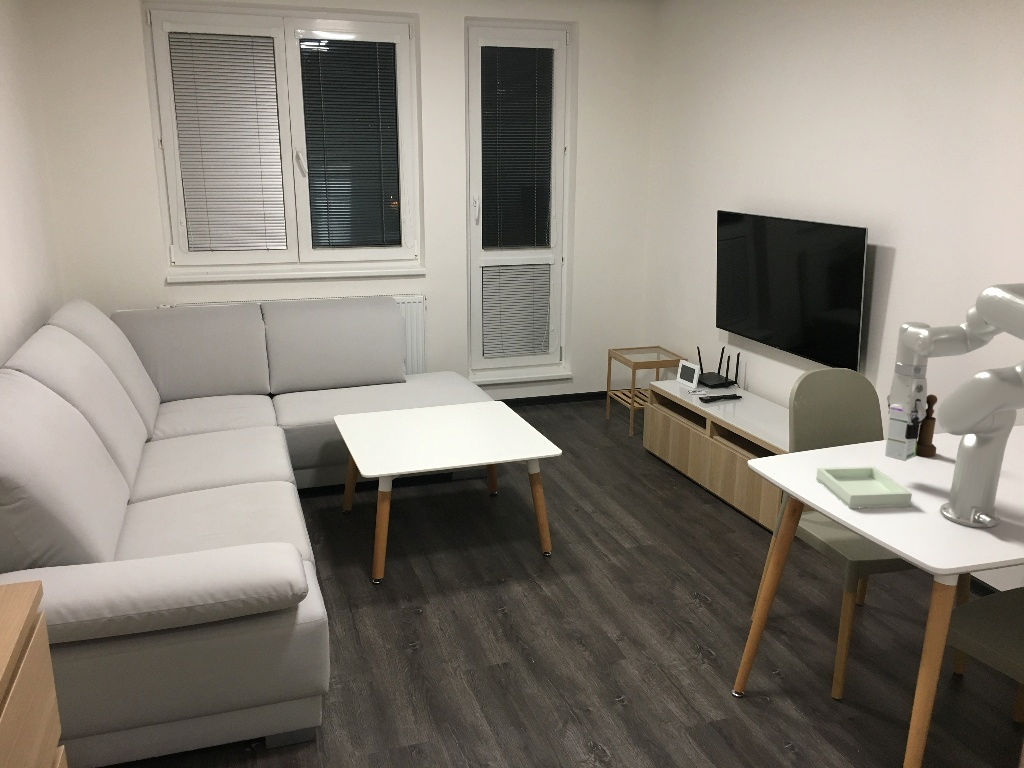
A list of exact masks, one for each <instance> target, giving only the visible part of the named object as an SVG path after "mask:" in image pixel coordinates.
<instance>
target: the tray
mask: <svg viewBox="0 0 1024 768" xmlns="http://www.w3.org/2000/svg"><path fill="white" fill-rule="evenodd" d="M816 469H817V470H816V476H815V481H816V480H817V481H816V482H818V481H819V482H820V483H821V484H822V485H824V486H825V487H826V488H827V489H828V490H829V491H830V492H831V494H832V495H833V496H834V495H835V496H836V497H837V498H838V499H837V498H836V497H835V496H834V497H835V498H836V499H837V500H839V499H840V500H841V501H840V500H839V501H840V502H841V503H842V502H843V503H844V504H845V505H844V504H843V503H842V504H843V505H844V506H846V507H847V506H848V507H849V508H848V507H847V508H848V509H865V508H864V507H868V508H867V509H871V507H875V508H900V507H901V508H902V507H905V508H906V507H911V503H912V495H913V493H912V492H911V491H910V490H908V489H907V488H905V487H904V486H902V485H901V484H899V483H898V482H896V481H895V480H894V479H893V478H891V477H889V475H887V474H885V473H884V472H883V471H881V470H880V469H878V468H877V467H875V465H874V466H873V465H871V466H844V467H843V466H842V467H837V466H835V467H817V468H816ZM819 482H818V483H819ZM820 483H819V484H820ZM821 484H820V485H821ZM822 485H821V486H822ZM825 487H824V488H825ZM826 488H825V489H826ZM827 489H826V490H827ZM828 490H827V491H828ZM829 491H828V492H829ZM830 492H829V493H830ZM859 507H860V508H859ZM875 508H874V509H875Z"/></svg>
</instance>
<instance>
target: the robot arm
mask: <svg viewBox="0 0 1024 768" xmlns="http://www.w3.org/2000/svg"><path fill="white" fill-rule="evenodd" d="M965 321H966V322H963V323H961V324H958V325H950V326H949V325H948V326H947V325H946V326H935V327H931V325H929V324H928V323H926V322H925V323H924V322H918V321H906V322H903V323H902V324H901V325H899V330H898V339H897V346H896V347H897V348H896V355H895V363H894V365H895V366H894V372H893V378H892V381H891V386H890V391H889V395H888V396H886V400H887V408H888V413H889V412H890V405H893V404H896V405H899V406H901V408H902V411H903V412H904V413H905V414H907V417H908V422H909V424H907V427H906V435H905V438H906V439H917V440H918V434H919V428H920V425H921V422H922V421H923V419H924V417H925V416H926V411H925V410H926V409H927V403H926V401H927V396H928V383H927V382H928V381H927V369H928V361H929V358H930V359H931V358H943V357H953V356H954V357H955V356H962V355H965V354H968V353H971V352H975V350H979V349H980V348H983V347H984V346H987V345H989V343H991V341H992V340H993V339H994V337H996V336H997V335H1000V334H1002V333H1004V332H1005V333H1006V334H1008V335H1011V336H1013V337H1015V338H1018V339H1020V340H1022V341H1024V282H1019V283H1018V282H1017V283H1001V284H993V285H990V286H988V287H986V288H984V289H983V290H982V291H980V292H979V294H978V295H977V298H976V300H975V304H973V305H971V306H970V307H969V308H968V310H967V311H966V315H965ZM1020 409H1024V359H1023V360H1021V361H1020V362H1018V363H1016V364H1015V365H1012V366H1005V367H999V368H998V367H997V368H996V367H995V368H990V369H985V370H981V371H979V372H977V373H974V374H973V375H971V376H970V377H969V378H967V379H966V380H965V381H964V382H963V383H961V384H960V385H958V387H957V388H956V389H954V390H953V391H951V392H950V393H949V394H948V395H946V397H945V398H944V399H943V400H942V401H941V403H940V404H939V406H938V410H937V415H936V416H937V417H936V419H937V422H938V424H939V427H940V428H941V429H942V430H943V431H944V432H946V433H947V434H950V435H951V436H952V435H953V436H961V439H960V441H959V444H958V448H957V454H956V458H955V464H954V465H955V466H954V469H953V474H952V475H953V477H952V482H951V487H950V492H949V493H950V494H949V498H948V499H949V500H948V502H945V503H943V504H942V505H940V509H939V512H940V514H941V515H942V516H943V517H944V518H946V519H947V520H950V521H951V522H954V523H955V524H956V523H957V524H959V525H963V526H966V527H971V528H972V527H973V528H980V529H981V528H984V529H985V528H993V527H996V526H997V525H998V524H999V523H1000V522H1001V518H1000V517H999V515H998V514H997V513H996V512H997V511H996V510H997V508H996V506H995V503H996V497H997V491H998V487H999V481H1000V476H1001V471H1002V465H1003V461H1004V457H1005V451H1006V447H1007V444H1008V441H1009V440H1008V439H1009V437H1010V434H1011V432H1012V430H1013V428H1014V425H1015V424H1016V420H1017V410H1020ZM912 410H913V411H915V413H912V412H911V411H912ZM912 416H915V418H914V419H912Z"/></svg>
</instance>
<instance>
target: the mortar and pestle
mask: <svg viewBox="0 0 1024 768" xmlns="http://www.w3.org/2000/svg"><path fill="white" fill-rule="evenodd" d="M937 403H938V397H937V396H936V395H935V394H927V401H926V406H927V407H926V410H925V412H926V416H925V417H924V419H923V421H922V422H921V425H919V432H918V438H917V447H916V456H918V457H923V458H925V457H926V458H933V457H935V456H936V453H937V447H936V446H935V445H934V444H933V439H934V433H935V426H936V421H937V417H934V416H933V415H934V413H935V409H934V406H935V405H936V404H937Z"/></svg>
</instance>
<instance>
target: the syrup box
mask: <svg viewBox="0 0 1024 768" xmlns="http://www.w3.org/2000/svg"><path fill="white" fill-rule="evenodd" d="M911 412H912V413H915V411H913V410H912V411H911ZM914 418H915V416H912V419H914ZM907 424H909V422H908V417H907V414H905V413H904V412H903V411H902V408H901V406H899V405H896V404H893V405H890V412H889V411H888V421H887V433H886V443H885V451H884V456H885V457H888V458H890V459H891V458H892V459H895V460H897V461H898V460H899V461H902V462H906V461H908V460H910V459H912V458H915V457H916V456H917V455H916V447H917V440H918V438H917V439H906V438H905V435H906V427H907Z"/></svg>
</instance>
